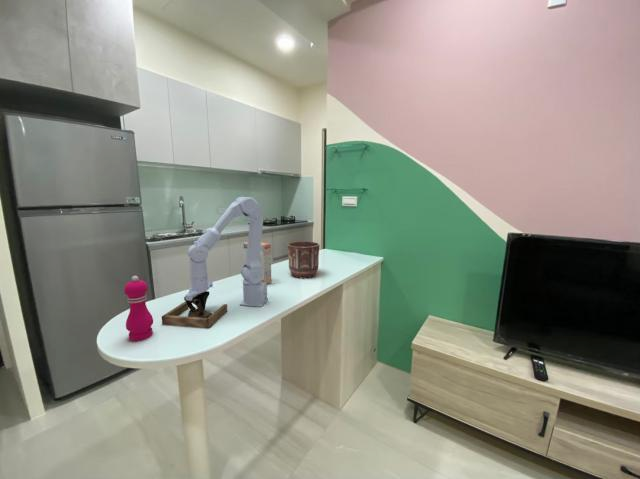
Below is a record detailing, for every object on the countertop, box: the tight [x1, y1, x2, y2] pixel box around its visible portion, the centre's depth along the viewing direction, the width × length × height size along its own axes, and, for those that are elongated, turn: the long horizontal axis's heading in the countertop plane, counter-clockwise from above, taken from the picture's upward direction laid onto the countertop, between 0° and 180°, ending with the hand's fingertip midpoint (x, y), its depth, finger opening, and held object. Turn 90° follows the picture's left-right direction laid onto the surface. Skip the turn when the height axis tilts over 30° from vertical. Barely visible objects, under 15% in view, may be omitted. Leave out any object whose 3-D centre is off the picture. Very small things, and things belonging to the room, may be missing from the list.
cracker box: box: [243, 241, 272, 285], centre depth 137 cm, size 14×6×21 cm, turn 58°
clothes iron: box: [183, 296, 213, 318], centre depth 97 cm, size 7×11×10 cm, turn 51°
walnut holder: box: [161, 301, 228, 329], centre depth 97 cm, size 17×13×3 cm
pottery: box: [286, 241, 320, 279], centre depth 150 cm, size 18×18×18 cm
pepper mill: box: [123, 275, 154, 342], centre depth 83 cm, size 7×7×20 cm
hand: (201, 311), depth 101 cm, fingers closed, pressing on clothes iron
